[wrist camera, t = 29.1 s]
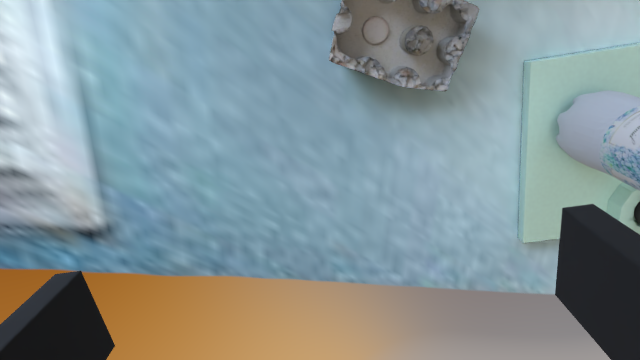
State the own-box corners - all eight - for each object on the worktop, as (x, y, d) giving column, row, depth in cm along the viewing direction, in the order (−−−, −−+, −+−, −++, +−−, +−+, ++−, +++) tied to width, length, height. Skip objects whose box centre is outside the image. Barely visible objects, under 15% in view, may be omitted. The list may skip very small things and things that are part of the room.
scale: (523, 60, 34) (541, 63, 31) (691, 34, 33) (725, 35, 30) (517, 238, 40) (531, 253, 38) (657, 220, 40) (682, 235, 37)
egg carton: (322, 58, 34) (322, 62, 30) (350, -34, 31) (353, -43, 28) (434, 95, 35) (447, 103, 31) (470, 8, 32) (489, 6, 29)
